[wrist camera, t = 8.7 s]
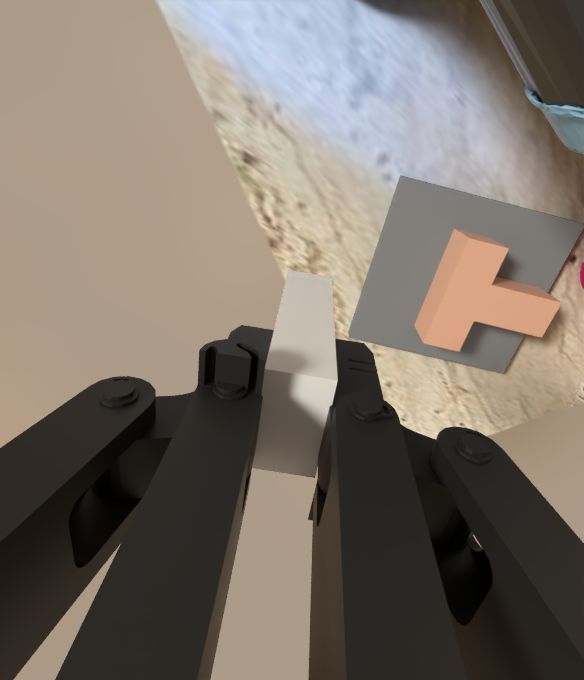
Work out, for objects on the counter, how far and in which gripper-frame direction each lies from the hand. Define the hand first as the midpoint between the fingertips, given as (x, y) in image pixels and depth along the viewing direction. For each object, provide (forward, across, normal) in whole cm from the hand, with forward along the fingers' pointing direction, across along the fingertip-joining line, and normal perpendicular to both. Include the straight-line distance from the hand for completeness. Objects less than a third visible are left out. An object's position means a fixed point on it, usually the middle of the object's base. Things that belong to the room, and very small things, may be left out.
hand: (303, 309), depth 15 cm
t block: (+25, +17, -6) cm, 31 cm away
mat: (+26, +15, -6) cm, 31 cm away
